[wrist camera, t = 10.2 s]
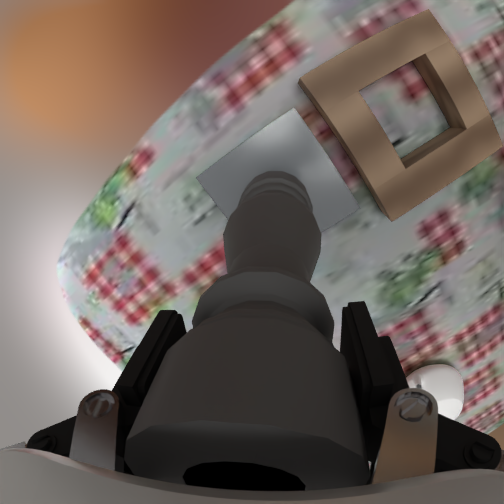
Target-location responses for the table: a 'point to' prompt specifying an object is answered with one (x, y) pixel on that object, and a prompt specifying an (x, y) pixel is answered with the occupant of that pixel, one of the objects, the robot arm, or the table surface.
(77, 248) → the table surface
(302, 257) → the candle holder
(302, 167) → the metal tile
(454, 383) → the teapot
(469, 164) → the socket block
